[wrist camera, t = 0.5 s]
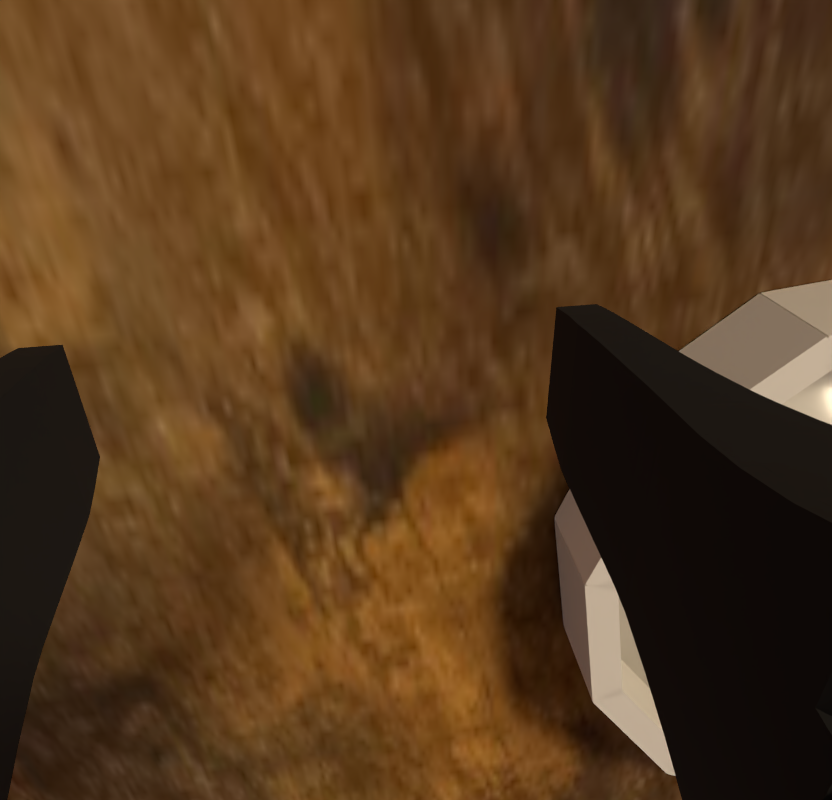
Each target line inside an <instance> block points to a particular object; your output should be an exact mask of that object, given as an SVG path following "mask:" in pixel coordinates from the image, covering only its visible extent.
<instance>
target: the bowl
mask: <svg viewBox="0 0 832 800" xmlns="http://www.w3.org/2000/svg"><path fill="white" fill-rule="evenodd" d="M679 352H680V353H682V354H684V355H686V356H687V357H689V358H691V359H693V360H694V361H696V362H698V363H700V364H702V365H703V366H705V367H707V368H709V369H711V370H713V371H714V372H716V373H718V374H720V375H722V376H724V377H726V378H728V379H730V380H732V381H734V382H736V383H738V384H740V385H742V386H744V387H746V388H748V389H749V390H751V391H753V392H756V393H758V394H760V395H762V396H764V397H766V398H768V399H771V400H773V401H775V402H777V403H780V404H782V405H784V406H787V407H789V408H792V409H794V410H796V411H799V412H801V413H804V414H806V415H808V416H811V417H813V418H816V419H818V420H820V421H823V422H826V423H828V424H831V425H832V280H828V281H823V282H817V283H812V284H806V285H801V286H795V287H790V288H784V289H779V290H773V291H768V292H762V293H761V294H758V295H756V296H755V297H754V298H752V299H751V300H749V301H748V302H747V303H745V304H744V305H742V306H741V307H740V308H738V309H737V310H736V311H734V312H733V313H731V314H730V315H729V316H727V317H726V318H724V319H723V320H722V321H720V322H719V323H717V324H716V325H715V326H713V327H712V328H710V329H709V330H708V331H706V332H705V333H703V334H702V335H701V336H699V337H698V338H696V339H695V340H694V341H692V342H691V343H689V344H688V345H687V346H685V347H684V348H683V349H681V350H680V351H679ZM554 521H555V532H556V544H557V556H558V567H559V579H560V590H561V602H562V614H563V625H564V628H565V631H566V634H567V636H568V639H569V641H570V644H571V647H572V649H573V652H574V654H575V657H576V660H577V662H578V665H579V667H580V670H581V673H582V675H583V678H584V681H585V683H586V686H587V688H588V691H589V694H590V696H591V699H592V701H593V703H594V704H595V705H596V706H597V707H598V708H599V709H600V710H601V711H602V712H603V713H604V714H605V715H606V716H607V717H609V718H610V719H611V720H612V721H613V722H614V723H615V724H616V725H617V726H618V727H619V728H620V729H621V730H622V731H623V732H624V733H625V734H626V735H627V736H628V737H629V738H630V739H631V740H632V741H633V742H634V743H635V744H636V745H637V746H639V747H640V748H641V749H642V750H643V751H644V752H645V753H646V754H647V755H648V756H649V757H650V758H651V759H652V760H653V761H654V762H655V763H656V764H657V765H658V766H659V767H660V768H661V769H662V770H663V771H664V772H665V773H666V774H669V775H674V776H676V775H675V772H674V768H673V765H672V761H671V758H670V754H669V751H668V747H667V743H666V740H665V736H664V733H663V730H662V726H661V723H660V720H659V717H658V713H657V710H656V707H655V704H654V700H653V697H652V694H651V691H650V687H649V684H648V681H647V678H646V674H645V671H644V668H643V665H642V662H641V659H640V656H639V653H638V650H637V647H636V644H635V641H634V638H633V635H632V632H631V629H630V626H629V623H628V620H627V617H626V614H625V611H624V609H623V606H622V604H621V601H620V599H619V596H618V594H617V591H616V589H615V586H614V584H613V582H612V580H611V578H610V575H609V573H608V571H607V569H606V567H605V565H604V562H603V560H602V558H601V556H600V554H599V552H598V549H597V547H596V545H595V543H594V541H593V539H592V536H591V534H590V532H589V530H588V528H587V526H586V524H585V521H584V519H583V517H582V515H581V513H580V511H579V508H578V506H577V504H576V502H575V499H574V497H573V495H572V493H571V491H570V489H569V491H568V493H567V494H566V496H565V498H564V500H563V502H562V504H561V506H560V507H559V509H558V511H557V513H556V515H555V518H554Z"/></svg>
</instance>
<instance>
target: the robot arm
mask: <svg viewBox="0 0 832 800" xmlns="http://www.w3.org/2000/svg"><path fill="white" fill-rule="evenodd" d="M546 418H547V422H548V426H549V429H550V433H551V436H552V440H553V444H554V447H555V450H556V454H557V457H558V460H559V464H560V467H561V470H562V473H563V475H564V477H565V479H566V482H567V484H568V486H569V488H570V491H571V493H572V495H573V497H574V499H575V502H576V504H577V506H578V508H579V511H580V513H581V515H582V517H583V519H584V521H585V524H586V526H587V528H588V530H589V532H590V534H591V536H592V539H593V541H594V543H595V545H596V547H597V549H598V552H599V554H600V556H601V558H602V560H603V562H604V565H605V567H606V569H607V571H608V573H609V575H610V578H611V580H612V582H613V584H614V586H615V589H616V591H617V594H618V596H619V599H620V601H621V604H622V606H623V609H624V611H625V614H626V617H627V620H628V623H629V626H630V629H631V632H632V635H633V638H634V641H635V644H636V647H637V650H638V653H639V656H640V659H641V662H642V665H643V668H644V671H645V674H646V678H647V681H648V684H649V687H650V691H651V694H652V697H653V700H654V704H655V707H656V710H657V713H658V717H659V720H660V723H661V726H662V730H663V733H664V736H665V740H666V743H667V747H668V751H669V754H670V758H671V761H672V765H673V768H674V772H675V775H676V779H677V783H678V786H679V790H680V793H681V797H682V800H832V425H831V424H828V423H826V422H823V421H820V420H818V419H816V418H813V417H811V416H808V415H806V414H804V413H801V412H799V411H796V410H794V409H792V408H789V407H787V406H784V405H782V404H780V403H777V402H775V401H773V400H771V399H768V398H766V397H764V396H762V395H760V394H758V393H756V392H753V391H751V390H749V389H748V388H746V387H744V386H742V385H740V384H738V383H736V382H734V381H732V380H730V379H728V378H726V377H724V376H722V375H720V374H718V373H716V372H714V371H713V370H711V369H709V368H707V367H705V366H703V365H702V364H700V363H698V362H696V361H694V360H693V359H691V358H689V357H687V356H686V355H684V354H682V353H680V352H679V351H677V350H675V349H674V348H672V347H670V346H669V345H667V344H665V343H664V342H662V341H660V340H658V339H657V338H655V337H653V336H652V335H650V334H649V333H647V332H645V331H644V330H642V329H640V328H639V327H637V326H635V325H634V324H632V323H630V322H629V321H627V320H625V319H623V318H622V317H620V316H618V315H616V314H615V313H613V312H611V311H609V310H607V309H605V308H603V307H601V306H599V305H597V304H594V305H581V306H567V307H557V308H556V319H555V330H554V341H553V351H552V362H551V373H550V384H549V395H548V406H547V416H546ZM99 460H100V456H99V453H98V450H97V447H96V444H95V441H94V438H93V435H92V432H91V429H90V426H89V423H88V420H87V417H86V414H85V411H84V408H83V405H82V402H81V399H80V396H79V393H78V390H77V387H76V384H75V381H74V378H73V375H72V372H71V369H70V366H69V363H68V360H67V357H66V354H65V351H64V348H63V345H54V346H41V347H28V348H18V349H16V350H14V351H12V352H10V353H8V354H7V355H5V356H3V357H1V358H0V800H7V798H8V793H9V788H10V783H11V778H12V773H13V768H14V763H15V758H16V753H17V748H18V743H19V739H20V735H21V730H22V726H23V722H24V717H25V713H26V709H27V704H28V700H29V696H30V691H31V687H32V683H33V678H34V675H35V671H36V668H37V665H38V662H39V658H40V655H41V652H42V648H43V645H44V642H45V640H46V637H47V634H48V631H49V628H50V626H51V623H52V620H53V617H54V614H55V612H56V609H57V606H58V603H59V601H60V598H61V595H62V592H63V589H64V587H65V584H66V581H67V578H68V575H69V573H70V570H71V567H72V564H73V561H74V559H75V556H76V553H77V550H78V547H79V544H80V541H81V538H82V535H83V533H84V530H85V527H86V524H87V521H88V518H89V514H90V509H91V504H92V499H93V494H94V490H95V484H96V478H97V472H98V466H99Z"/></svg>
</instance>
